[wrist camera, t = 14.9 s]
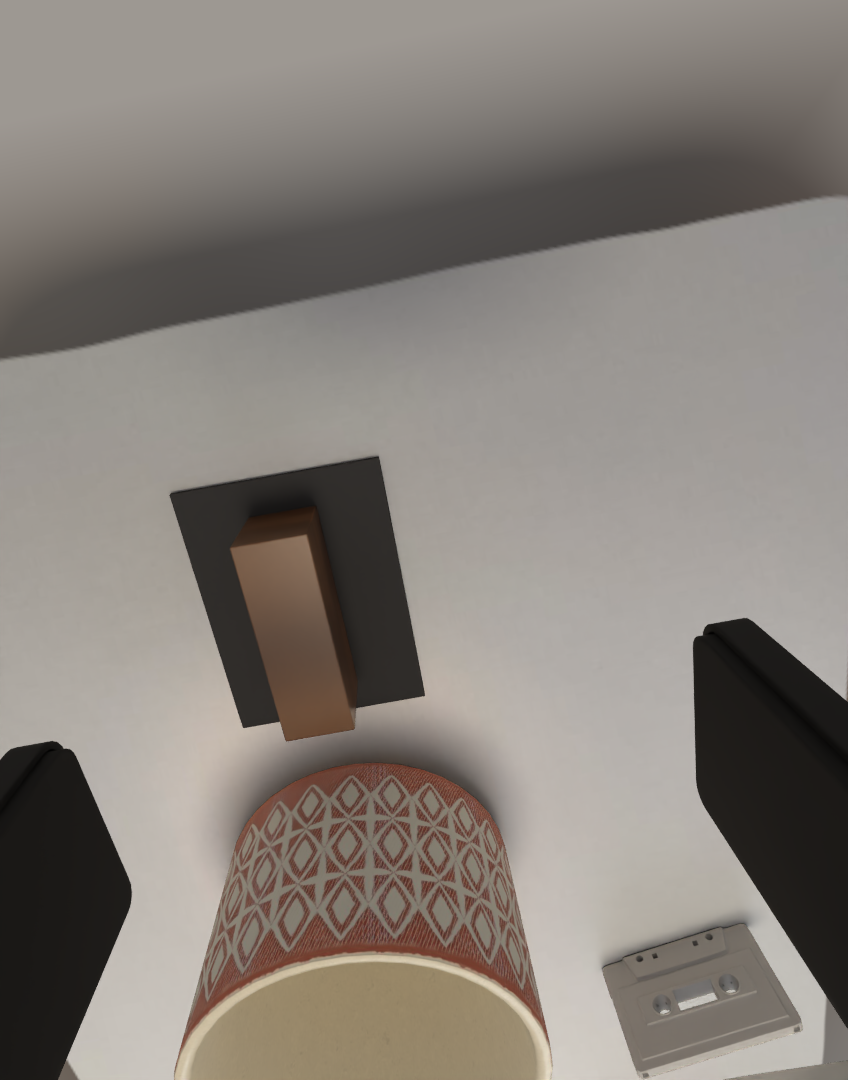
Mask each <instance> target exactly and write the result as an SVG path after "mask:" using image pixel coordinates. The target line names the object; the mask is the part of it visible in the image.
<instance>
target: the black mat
mask: <svg viewBox="0 0 848 1080" xmlns="http://www.w3.org/2000/svg"><path fill="white" fill-rule="evenodd" d="M170 498H171V501H172V504H173V507H174V511H175V514H176V517H177V520H178V523H179V526H180V530H181V533H182V536H183V539H184V542H185V545H186V549H187V552H188V555H189V558H190V561H191V564H192V568H193V571H194V574H195V577H196V580H197V583H198V587H199V590H200V593H201V596H202V599H203V602H204V606H205V609H206V612H207V615H208V618H209V621H210V625H211V628H212V631H213V634H214V637H215V640H216V644H217V647H218V650H219V653H220V656H221V659H222V663H223V666H224V669H225V672H226V675H227V678H228V682H229V685H230V688H231V691H232V694H233V697H234V701H235V704H236V707H237V710H238V713H239V716H240V720H241V723H242V726H243V728H247V727H252V726H258V725H264V724H269V723H275V722H280V719H279V716H278V713H277V709H276V706H275V702H274V699H273V695H272V692H271V689H270V685H269V682H268V678H267V675H266V671H265V668H264V664H263V661H262V658H261V654H260V651H259V647H258V644H257V640H256V637H255V634H254V630H253V627H252V623H251V620H250V616H249V613H248V610H247V606H246V603H245V599H244V596H243V592H242V589H241V586H240V582H239V579H238V575H237V572H236V568H235V565H234V561H233V558H232V555H231V551H230V547H231V545H232V543H233V542H234V540H235V539H236V537H237V535H238V534H239V532H240V531H241V529H242V528H243V526H244V524H245V523H246V521H247V520H248V518H249V517H255V516H260V515H266V514H272V513H277V512H283V511H288V510H294V509H300V508H305V507H311V506H316V507H317V510H318V514H319V518H320V523H321V527H322V531H323V535H324V540H325V544H326V548H327V553H328V557H329V561H330V565H331V570H332V574H333V578H334V582H335V587H336V591H337V595H338V599H339V604H340V608H341V612H342V616H343V621H344V625H345V629H346V633H347V638H348V642H349V646H350V650H351V655H352V659H353V663H354V667H355V672H356V676H357V680H358V686H357V702H356V708H359V707H365V706H371V705H376V704H382V703H387V702H393V701H399V700H404V699H410V698H416V697H421V696H425V693H424V688H423V683H422V678H421V673H420V667H419V662H418V657H417V652H416V647H415V642H414V636H413V631H412V626H411V621H410V616H409V611H408V606H407V600H406V595H405V590H404V585H403V580H402V575H401V569H400V564H399V559H398V554H397V549H396V544H395V538H394V533H393V528H392V523H391V518H390V513H389V508H388V502H387V497H386V492H385V487H384V482H383V477H382V471H381V466H380V461H379V457H374V458H369V459H363V460H358V461H352V462H346V463H341V464H335V465H329V466H324V467H318V468H312V469H307V470H301V471H295V472H290V473H284V474H279V475H273V476H267V477H262V478H256V479H250V480H245V481H239V482H233V483H228V484H222V485H217V486H211V487H205V488H200V489H194V490H188V491H183V492H177V493H171V494H170Z"/></svg>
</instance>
